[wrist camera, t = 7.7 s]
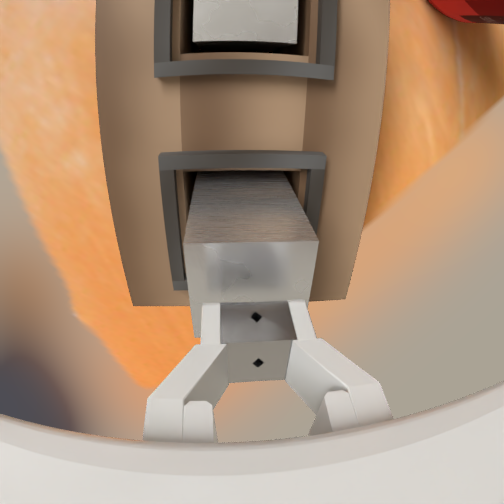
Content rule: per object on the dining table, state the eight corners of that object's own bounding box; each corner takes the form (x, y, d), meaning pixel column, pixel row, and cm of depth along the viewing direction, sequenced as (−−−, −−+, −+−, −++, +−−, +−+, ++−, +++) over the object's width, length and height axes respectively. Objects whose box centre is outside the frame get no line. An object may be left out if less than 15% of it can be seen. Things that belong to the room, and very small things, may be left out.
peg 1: (268, -1, 16) (299, -41, 8) (266, 52, 18) (296, 43, 10) (206, -2, 15) (196, -45, 8) (205, 52, 18) (192, 41, 10)
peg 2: (274, 155, 17) (318, 241, 9) (270, 220, 19) (302, 332, 12) (200, 156, 17) (183, 244, 9) (203, 221, 19) (194, 337, 11)
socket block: (324, -27, 15) (393, -74, 6) (306, 218, 26) (348, 306, 17) (150, -30, 14) (101, -86, 5) (159, 221, 25) (131, 313, 16)
